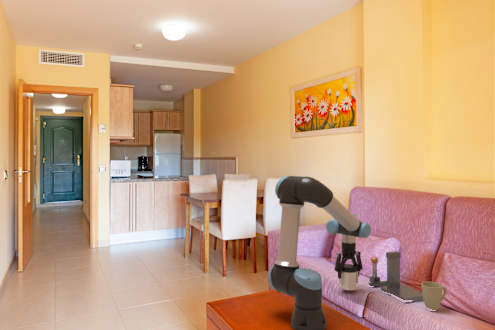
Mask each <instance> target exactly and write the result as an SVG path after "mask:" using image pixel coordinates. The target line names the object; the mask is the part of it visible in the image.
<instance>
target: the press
mask: <svg viewBox="0 0 495 330" xmlns="http://www.w3.org/2000/svg"><path fill="white" fill-rule="evenodd" d="M401 255H402V254H401V252H400V251H397V250H395V251H387V252H385V258H386V280H382V281H381V280H380V283H377V284H373V283H371V282H368V284H369V285H370V286H379V287H380V291H381V290H382V291H384V292H387V293H390V294H393V295H395V296H397V297H399V298H401V299H403V300H413V301H418V302H424V300H423V296H422V291H419V290H417V289H414V288H412V287H410V286H408V285H405V284H403V283H402V284H401V273H400V272H401Z"/></svg>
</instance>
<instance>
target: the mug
mask: <svg viewBox="0 0 495 330" xmlns="http://www.w3.org/2000/svg"><path fill="white" fill-rule="evenodd" d="M421 293H422V296H423V300H424V301H423V303H424V306H425V308H426V307H427V308H429V309H432V310H438V311H439V309H440V305H441V302H442V301H443V300H444V299H445V297H446V295H447V288H446V287H445V286H444V285H443V284H442V283H439V282H436V281H422V282H421Z"/></svg>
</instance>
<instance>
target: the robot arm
mask: <svg viewBox="0 0 495 330" xmlns="http://www.w3.org/2000/svg"><path fill="white" fill-rule="evenodd" d="M274 192H275V195H276V197H277V199H279V201H278V204H279V205H280V207H281V217H280V218H281V219H280V231H279V241H278V244H279V245H278V255H277V259H276V260H275V261H274V262H273V265H272V266H271V267H270V269H269V271H268V273H267V282H268V283H269V286H270V288H272V289H273V290H274V291H276V292H277V293H280V294H283V295H287V296H289V297H292V298H294V308H293V311H292V315H291V319H290V326H291V327H292V329H294V330H326V329H327V319H326V317H325V314H324V311H323V281H322V275H321V274H320V273H319V272H318V271H317V270H314V269H311V268H306V267H301V268H300V264H299V262H298V261H297V258H298V257H297V256H298V246H299V245H298V243H299V232H300V230H299V229H300V218H301V209H302V208H303V207H305V203H309V204H313V205H314V206H316V207H317V208H318V209H319V208H320V209H323V210H324V211H325V212H326V213H327V214H329V215H330V216H331V217H332V218H333V219H329V220H328V221H327V222H326V224H325V227H326V231H327V232H328V233H329V234H330V235H341V252H336V260H335V264H334V265H335V266H334V271H335V272H336V273H337V279H338V284H339V285H340V286H341V285H343V273H342V270H343V268H344V265H345V264H347V263H346V262H347V261H348V260H351V262H352V265H355V266H356V268H357V270H356V284H359V277H360V272H361V270H363V269H364V268H363V263H362V257H361V253H362V252H361V251H359V250H356V249H357V244H356V242H357V238H360V239H361V238H363V239H366V238H369V236H370V235H371V232H372V228H371V226H370V225H371V224H370V223H367V222H364V221H363V222H362V221H361V220H359V218H357V217H356V214H354V213H352V212H351V211H350V210H349V209H348V208H347V207H346V206H344V204H342V202H340V201H339V200H338V199H337V198H336V197H335V196H334V193H333V190H331V189H330V188H329V187H328V186H326V185H325V184H324V183H323V182H321V181H320V180H318V179H316V178H314V177H310V176H296V175H287V176H282V177H281V178H280V179H279V180H278V181H277V183H276V185H275V189H274Z"/></svg>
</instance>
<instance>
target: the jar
mask: <svg viewBox="0 0 495 330" xmlns="http://www.w3.org/2000/svg"><path fill="white" fill-rule="evenodd" d="M356 270H357V268H356V266H355V265H353V263H352V264H351V263H350V264H349V263H345V265H344V268H343V270H342V273H343V285H341V284H340V289H343V290H345V291H356V290H357V283H356Z"/></svg>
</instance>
